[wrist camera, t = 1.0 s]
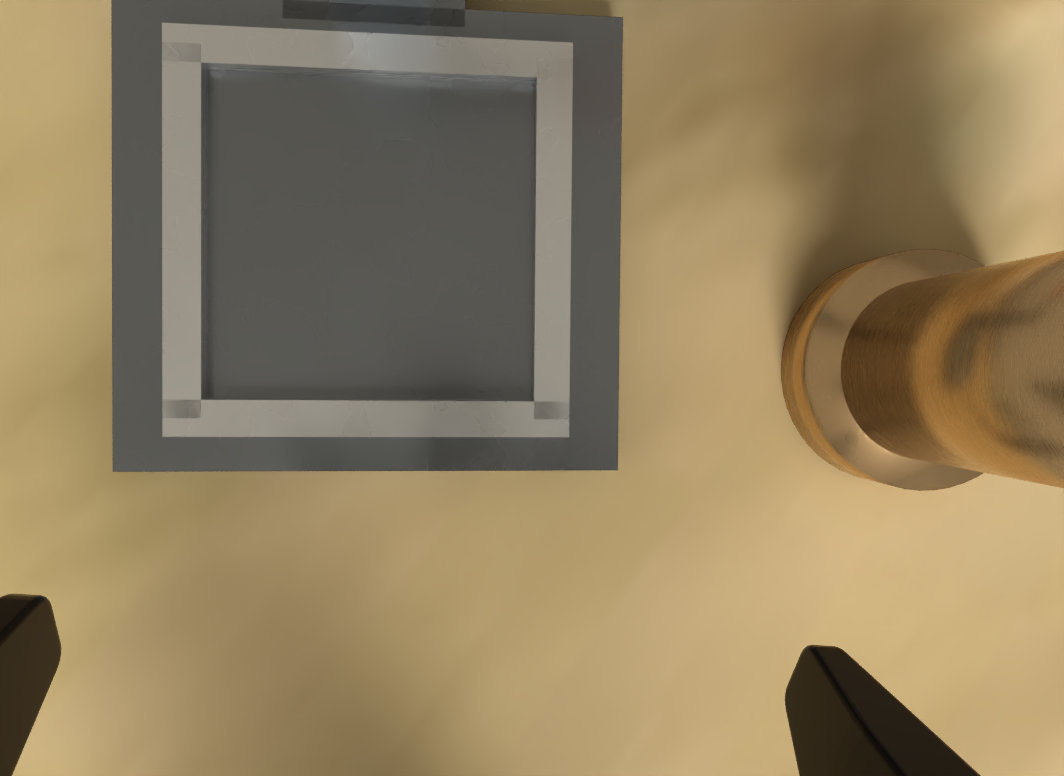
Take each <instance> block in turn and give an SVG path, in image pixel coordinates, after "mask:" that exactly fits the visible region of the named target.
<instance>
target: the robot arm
mask: <svg viewBox="0 0 1064 776" xmlns="http://www.w3.org/2000/svg"><path fill="white" fill-rule="evenodd" d="M60 656H61V643H60V639H59V635H58V631H57V627H56V622H55V618H54V614H53V610H52V606H51V603H50V601H49V600H48V599H47V598H46V597H44V596H41V595H26V594H8V595H5V596H2V597H0V776H12V774H13V772H14V770H15V767H16V765H17V763H18V760H19V758H20V755H21V753H22V751H23V748H24V746H25V744H26V741H27V739H28V737H29V734H30V732H31V729H32V727H33V725H34V722H35V720H36V718H37V715H38V713H39V711H40V708H41V706H42V703H43V701H44V699H45V696H46V694H47V692H48V689H49V687H50V685H51V682H52V680H53V677H54V675H55V673H56V670H57V668H58V665H59V661H60ZM785 706H786V712H787V717H788V722H789V727H790V731H791V736H792V741H793V746H794V751H795V756H796V761H797V765H798V770H799V775H800V776H981V775H979V774H978V773H977V772H976V771H975V770H974V769H973V768H972V767H971V766H970V765H968V764H967V763H966V762H965V761H964V760H963V759H962V758H961V757H960V756H959V755H958V754H956V753H955V752H954V751H953V750H952V749H951V748H950V747H949V746H948V745H947V744H946V743H944V742H943V741H942V740H941V739H940V738H939V737H938V736H937V735H936V734H935V733H934V732H932V731H931V730H930V729H929V728H928V727H927V726H926V725H925V724H924V723H923V722H921V721H920V720H919V719H918V718H917V717H916V716H915V715H914V714H913V713H912V712H911V711H909V710H908V709H907V708H906V707H905V706H904V705H903V704H902V703H901V702H900V701H899V700H897V699H896V698H895V697H894V696H893V695H892V694H891V693H890V692H889V691H888V690H887V689H885V688H884V687H883V686H882V685H881V684H880V683H879V682H878V681H877V680H876V679H874V678H873V677H872V676H871V675H870V674H869V673H868V672H867V671H866V670H865V669H864V668H862V667H861V666H860V665H859V664H858V663H857V662H856V661H855V660H854V659H853V658H852V657H850V656H849V655H848V654H847V653H846V652H845V651H843V650H842V649H840V648H838V647H835V646H820V645H809V646H807V647H806V648H804V649H803V651H802V653H801V655H800V657H799V660H798V662H797V664H796V667H795V669H794V671H793V674H792V676H791V678H790V681H789V683H788V685H787V689H786V693H785Z"/></svg>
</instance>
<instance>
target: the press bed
mask: <svg viewBox="0 0 1064 776" xmlns="http://www.w3.org/2000/svg"><path fill="white" fill-rule="evenodd" d="M622 41H623V17H604V16H585V15H566V14H546V13H527V12H508V11H488V10H469V9H465V0H112V368H113V472H160V471H521V470H618V395H619V307H620V218H621V130H622Z"/></svg>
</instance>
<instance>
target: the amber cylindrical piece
mask: <svg viewBox="0 0 1064 776" xmlns="http://www.w3.org/2000/svg"><path fill="white" fill-rule="evenodd" d="M781 380H782V387H783V394H784V398H785V402H786V406H787V409H788V411H789V414H790V416H791V419H792V421H793V423H794V425H795V426H796V428H797V430H798V432H799V433H800V435H801V436H802V437H803V439H804V440H805V441H806V443H807V444H808V445H809V446H810V447H811V448H812V449H813V450H814V451H815V452H816V453H817V454H818V455H819V456H820V457H821V458H823V459H824V460H825V461H827V462H828V463H829V464H831V465H833V466H834V467H836V468H838V469H840V470H841V471H844V472H846V473H849V474H851V475H854V476H857V477H861V478H865V479H868V480H872V481H876V482H880V483H883V484H887V485H891V486H895V487H899V488H903V489H910V490H919V491H921V490H938V489H944V488H950V487H953V486H956V485H959V484H962V483H965V482H967V481H969V480H971V479H974V478H976V477H978V476H979V475H981V474H982V473H988V474H993V475H999V476H1004V477H1009V478H1014V479H1019V480H1024V481H1030V482H1035V483H1040V484H1045V485H1050V486H1055V487H1061V488H1064V251H1061V252H1056V253H1051V254H1046V255H1041V256H1036V257H1031V258H1026V259H1021V260H1016V261H1011V262H1006V263H1001V264H996V265H991V266H986V267H985V266H984V265H982V264H980V263H979V262H977V261H975V260H973V259H970V258H968V257H966V256H964V255H960V254H957V253H953V252H950V251H943V250H936V249H917V250H909V251H903V252H899V253H896V254H892V255H888V256H885V257H881V258H878V259H874V260H870V261H867V262H863V263H860V264H856V265H853V266H851V267H848V268H846V269H844V270H841V271H840V272H838V273H836V274H835V275H833V276H831V277H830V278H828V279H827V280H826V281H824V282H823V283H822V284H821V285H819V286H818V287H817V288H816V289H815V290H814V291H813V292H812V293H811V294H810V295H809V297H808V298H807V299H806V300H805V302H804V303H803V304H802V306H801V307H800V309H799V310H798V312H797V314H796V316H795V317H794V319H793V321H792V323H791V326H790V328H789V331H788V334H787V336H786V340H785V344H784V348H783V355H782V363H781Z"/></svg>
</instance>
